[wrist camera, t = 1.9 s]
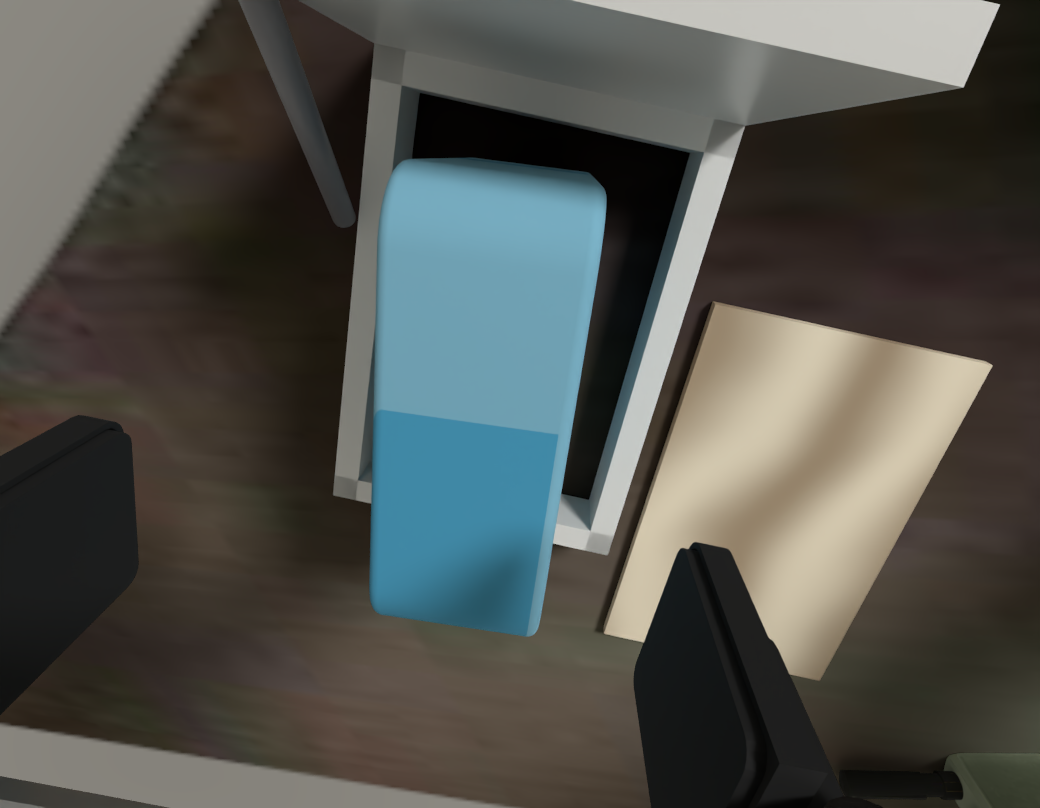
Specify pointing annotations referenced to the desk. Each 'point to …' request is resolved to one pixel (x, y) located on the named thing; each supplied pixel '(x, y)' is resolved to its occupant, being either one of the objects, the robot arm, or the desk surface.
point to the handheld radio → (957, 781)
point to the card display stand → (610, 110)
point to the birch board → (794, 471)
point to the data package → (476, 383)
